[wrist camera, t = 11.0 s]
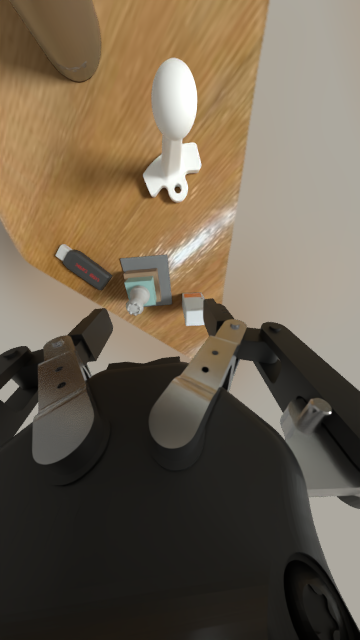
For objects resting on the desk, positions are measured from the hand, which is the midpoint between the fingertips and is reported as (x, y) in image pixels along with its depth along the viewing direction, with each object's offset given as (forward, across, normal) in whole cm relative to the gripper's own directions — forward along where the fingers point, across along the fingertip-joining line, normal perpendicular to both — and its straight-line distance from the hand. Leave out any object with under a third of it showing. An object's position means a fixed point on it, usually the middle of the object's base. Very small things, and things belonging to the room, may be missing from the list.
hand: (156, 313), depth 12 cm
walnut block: (+30, +6, +6) cm, 31 cm away
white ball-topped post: (+30, -4, -15) cm, 34 cm away
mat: (+30, +5, +6) cm, 31 cm away
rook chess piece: (+22, +6, +6) cm, 23 cm away
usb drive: (+31, +20, 0) cm, 37 cm away
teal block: (+26, +6, +6) cm, 27 cm away
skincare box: (+30, -7, +12) cm, 33 cm away
